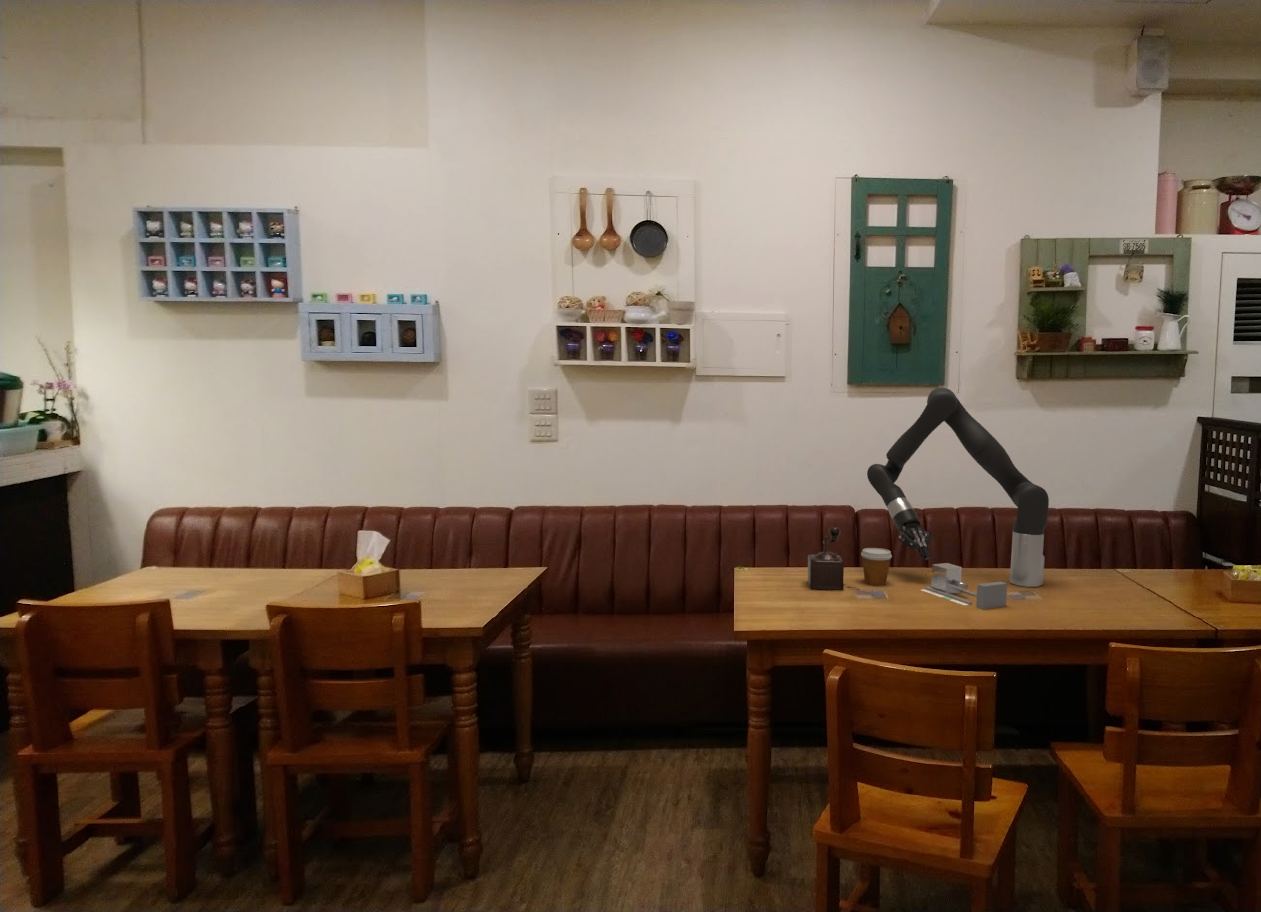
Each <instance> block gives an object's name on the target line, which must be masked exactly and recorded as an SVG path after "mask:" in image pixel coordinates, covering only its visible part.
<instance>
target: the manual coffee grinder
mask: <svg viewBox="0 0 1261 912" xmlns="http://www.w3.org/2000/svg"><path fill="white" fill-rule="evenodd" d="M841 533H842V532H841V529H840V528H839V527H835V526H833V527H831V528H829V529H828V534H829V535H830V540H829V537H828V535H824V536H823V541H822V544H824V545H823V547H824V550H823V551H821V552H818V553H817V554H808V555H807V585H808V587H809V588H811V589H815V590H814V591H833V590H843V591H844V574H845V573H844V569H845V563H844V561H843V559H842V557H841V555H839V554H837V553H838V552H837V551H836V552H835V553H834V552H832V551H828V544H831V543H834V544H835V543H837V542H838V541H840V540H839V536H840V534H841ZM811 589H810V590H811Z"/></svg>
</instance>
